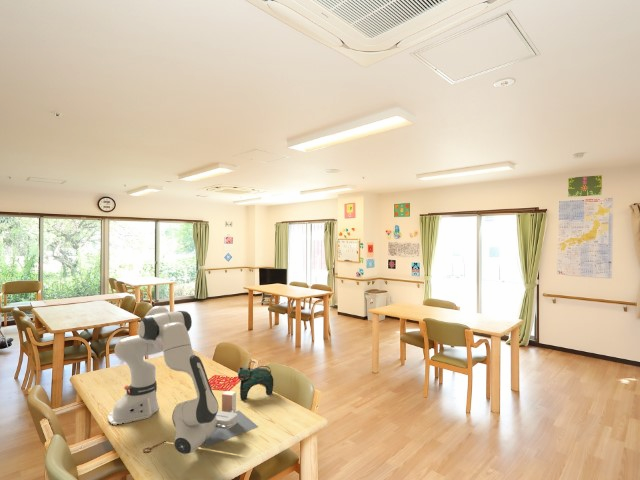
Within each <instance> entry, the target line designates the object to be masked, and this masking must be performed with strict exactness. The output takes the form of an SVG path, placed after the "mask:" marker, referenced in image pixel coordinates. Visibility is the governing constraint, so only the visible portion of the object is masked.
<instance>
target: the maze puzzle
mask: <svg viewBox="0 0 640 480" xmlns="http://www.w3.org/2000/svg"><path fill="white" fill-rule="evenodd" d="M220 376H222V375H219V374H218V375H217V374H214V375H212V376H211V377H210V378H208V381H209V384H210V387H211V390H212V391H214V390H215V391H221V392H222V391H224V392H226V391H231V390H232V389H233V388H234V387H235V386H236V385H237V384H238V383H239V382H241V380H240V379H239V378H238V376H235V377H234V378H233V377H231V378H232V379H231V378H229V377H227V376H228V375H225V376H226V377H220ZM210 379H211V380H210ZM216 379H217V380H216ZM218 379H220V380H218ZM227 379H228V380H227ZM215 380H216V381H215ZM221 380H222V381H221ZM223 380H225V381H223ZM225 382H226V383H225Z"/></svg>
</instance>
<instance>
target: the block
mask: <svg viewBox="0 0 640 480" xmlns="http://www.w3.org/2000/svg"><path fill="white" fill-rule="evenodd" d="M236 397H237V392H236V391H233V390H232V391H231V390H230V391H224V392H223V393H221V411H224V412H230V410H231V409H235V413H236V411H237V398H236Z"/></svg>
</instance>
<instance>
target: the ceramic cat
mask: <svg viewBox="0 0 640 480" xmlns="http://www.w3.org/2000/svg"><path fill="white" fill-rule="evenodd" d="M251 363H254V364H256V361H252V360H251V361H250V362H249V363H248V365H250V364H251ZM271 372H272V370H271V368H270V367H269V366H268V365H261V366H257V367H254V368H251V367H250V366H248V367H247V366H246V367H245V366H241V367H239V369H238V371H237V377H238V378H239V379H240V387H239V390H240V391H239V398H240V401H246V400H247V399H248V394H249V391H250V390H251V388H252V387H255V386H256V385H257V386H258V385H263V386H264V387H265V394H266V396H270V395H273V392H274V391H273V390H274V377H273V375H272V373H271ZM239 379H238V380H239Z"/></svg>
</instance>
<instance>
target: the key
mask: <svg viewBox="0 0 640 480" xmlns="http://www.w3.org/2000/svg"><path fill="white" fill-rule="evenodd" d="M166 441H167V440H163V441H161V442H159V443H157V444H154V445H153V446H151V447H148V449H150V450H147V451H146V450H144V449H142V452H143V453H144V452H145V454H147V453H150V452H152V451H151V450H153V449H154V448H156V447H158V445H159V446H161V445H162V443H163V444H165V443H166ZM164 442H165V443H164ZM160 444H161V445H160Z"/></svg>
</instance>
